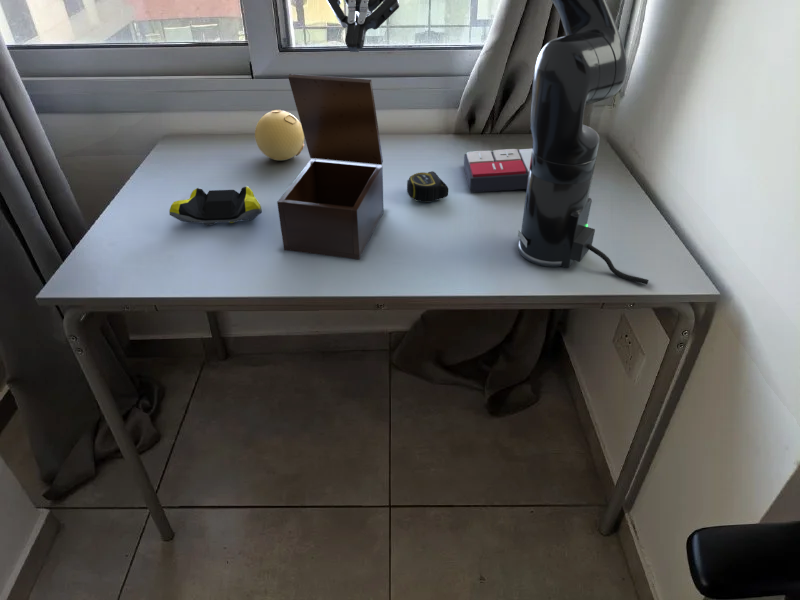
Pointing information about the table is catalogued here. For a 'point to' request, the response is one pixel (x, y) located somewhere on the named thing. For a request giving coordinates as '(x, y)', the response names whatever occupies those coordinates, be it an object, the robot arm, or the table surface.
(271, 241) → the table surface
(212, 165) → the table surface
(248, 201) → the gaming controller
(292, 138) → the stress ball
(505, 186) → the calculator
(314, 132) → the lid
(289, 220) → the chest
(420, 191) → the tape measure
